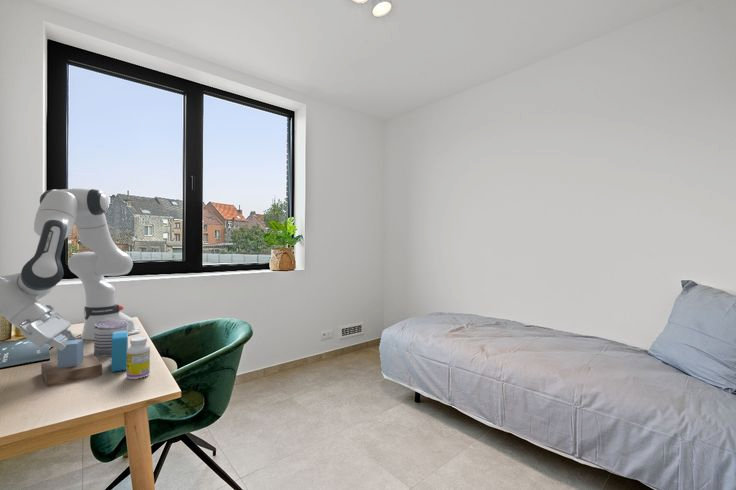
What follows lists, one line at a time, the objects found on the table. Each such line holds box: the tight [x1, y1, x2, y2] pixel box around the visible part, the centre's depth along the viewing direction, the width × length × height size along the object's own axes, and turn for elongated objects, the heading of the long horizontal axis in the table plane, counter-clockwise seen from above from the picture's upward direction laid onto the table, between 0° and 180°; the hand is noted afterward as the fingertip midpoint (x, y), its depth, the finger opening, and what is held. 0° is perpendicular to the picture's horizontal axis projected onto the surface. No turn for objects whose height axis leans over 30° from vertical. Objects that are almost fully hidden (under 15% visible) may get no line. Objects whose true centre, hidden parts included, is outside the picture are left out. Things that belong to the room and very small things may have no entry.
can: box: [93, 320, 129, 357], centre depth 142 cm, size 11×11×12 cm
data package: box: [110, 330, 129, 373], centre depth 127 cm, size 12×4×12 cm, turn 34°
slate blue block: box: [56, 339, 84, 368], centre depth 119 cm, size 5×5×8 cm
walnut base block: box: [40, 353, 103, 388], centre depth 119 cm, size 14×14×4 cm
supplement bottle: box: [125, 336, 151, 380], centre depth 119 cm, size 7×7×13 cm
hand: (69, 344), depth 119 cm, fingers open, 8 cm apart
